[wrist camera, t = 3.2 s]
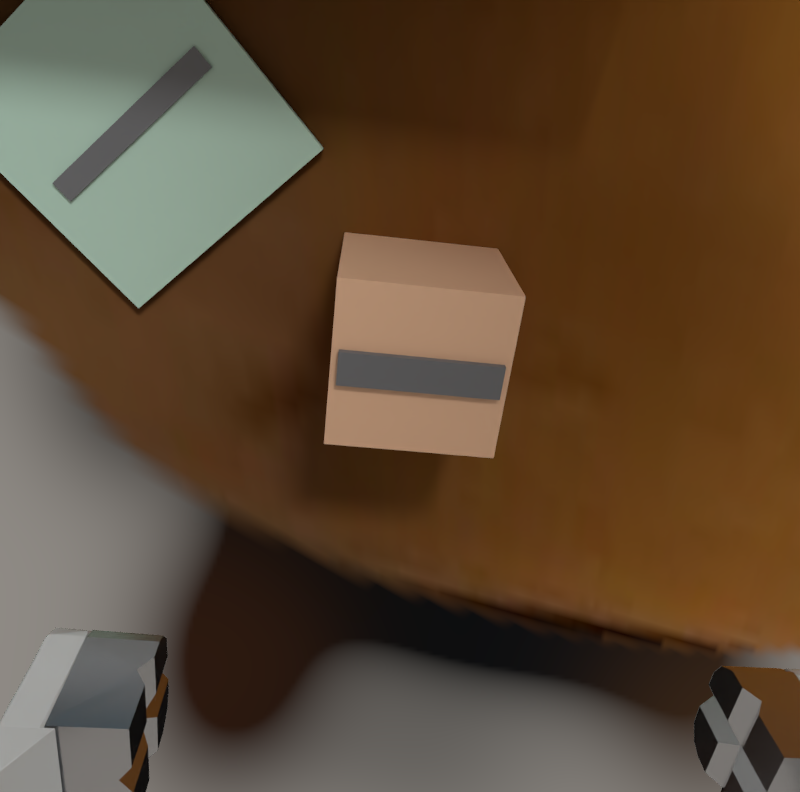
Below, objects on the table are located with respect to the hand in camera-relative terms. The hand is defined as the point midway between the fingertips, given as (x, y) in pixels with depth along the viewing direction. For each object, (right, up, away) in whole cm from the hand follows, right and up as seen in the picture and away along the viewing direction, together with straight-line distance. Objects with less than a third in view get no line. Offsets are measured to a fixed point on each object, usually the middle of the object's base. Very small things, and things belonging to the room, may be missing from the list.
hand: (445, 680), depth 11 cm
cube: (0, +7, +14) cm, 16 cm away
